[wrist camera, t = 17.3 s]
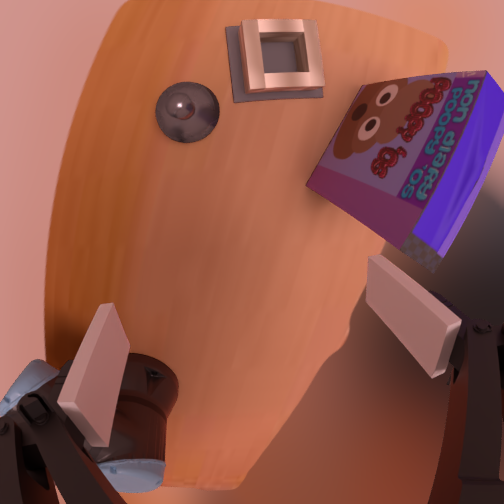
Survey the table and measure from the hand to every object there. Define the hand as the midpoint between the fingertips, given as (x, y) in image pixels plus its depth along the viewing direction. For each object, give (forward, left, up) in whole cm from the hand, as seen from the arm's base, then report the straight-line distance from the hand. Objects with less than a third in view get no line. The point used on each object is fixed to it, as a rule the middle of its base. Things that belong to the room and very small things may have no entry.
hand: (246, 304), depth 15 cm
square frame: (+9, +17, -28) cm, 34 cm away
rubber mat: (+9, +17, -28) cm, 34 cm away
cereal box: (+18, +5, -29) cm, 34 cm away
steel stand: (-3, +11, -28) cm, 31 cm away
